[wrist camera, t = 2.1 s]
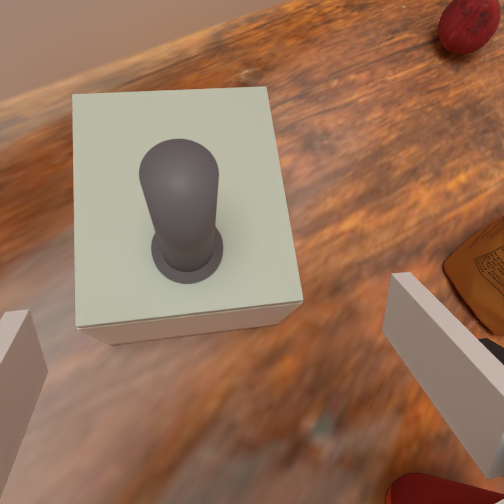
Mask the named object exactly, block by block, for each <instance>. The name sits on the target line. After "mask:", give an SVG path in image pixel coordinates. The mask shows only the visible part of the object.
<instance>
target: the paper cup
mask: <svg viewBox="0 0 504 504" xmlns="http://www.w3.org/2000/svg"><path fill="white" fill-rule="evenodd" d="M385 504H504V494H500V493H496V492H493V491H489V490H485V489H481V488H477V487H474V486H470V485H466V484H462V483H458V482H454V481H450V480H446V479H442V478H438V477H434V476H430V475H425V474H419V473H411V474H406V475H404V476H401V477H400V478H398V479H397V480H396V481H395V482H394V483H393V484H392V485H391V487H390V488H389V490H388V492H387V495H386V499H385Z"/></svg>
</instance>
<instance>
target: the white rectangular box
mask: <svg viewBox="0 0 504 504" xmlns="http://www.w3.org/2000/svg"><path fill="white" fill-rule="evenodd" d="M301 304H302V302H301V303H292V304H284V305H275V306H267V307H258V308H250V309H241V310H233V311H224V312H216V313H207V314H199V315H190V316H182V317H173V318H165V319H156V320H148V321H139V322H131V323H122V324H114V325H105V326H97V327H88V328H80V329H79V328H77V330H79V331H82V332H84V333H86V334H88V335H90V336H92V337H94V338H96V339H99V340H101V341H103V342H105V343H107V344H109V345H111V346H112V345H120V344H128V343H136V342H144V341H152V340H160V339H168V338H176V337H184V336H192V335H201V334H209V333H217V332H225V331H233V330H241V329H249V328H257V327H265V326H273V325H278V324H279V323H280V322H281V321H282V320H283V319H285V318H286V317H287V316H288V315H289V314H290V313H292V312H293V311H294V310H295V309H296V308H297V307H299V306H300V305H301Z"/></svg>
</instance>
